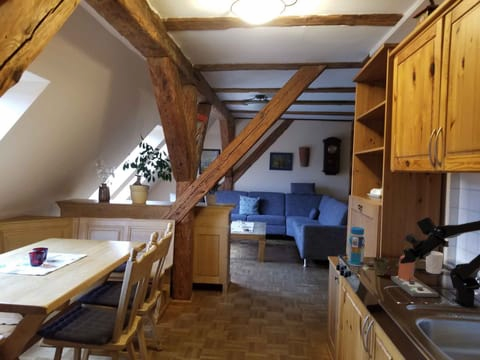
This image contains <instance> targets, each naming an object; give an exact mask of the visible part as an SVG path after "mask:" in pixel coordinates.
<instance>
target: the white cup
mask: <svg viewBox="0 0 480 360" xmlns="http://www.w3.org/2000/svg"><path fill="white" fill-rule="evenodd" d="M444 256H445V255H444V253H442V252H440V251H435V250H434V251H432V252H431V254H430V255H429V256H427V257H425V271H426V272H427V273H430V274H434V275H440V274H441V273H442V268H443V261H444Z"/></svg>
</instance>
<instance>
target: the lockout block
mask: <svg viewBox="0 0 480 360" xmlns="http://www.w3.org/2000/svg"><path fill="white" fill-rule="evenodd" d="M404 256H405V255H404ZM404 256H402V255H401V256H399V261H401V260H402V259H403V258H404ZM399 261H398V263H399V269H398V271H397V273H398V274H397V276H398V278H401V279H404V280H408V281H409V280H412V279H413V277H414V274H415V272H414V266H416V262H414V263H412V262H411V263H404V264H401V263H400V262H399Z"/></svg>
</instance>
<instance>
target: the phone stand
mask: <svg viewBox="0 0 480 360" xmlns="http://www.w3.org/2000/svg"><path fill="white" fill-rule="evenodd" d="M407 248H412V246H410V245H405V246H404V250H405V249H407ZM404 255H405V254H404V252H403V253H402V255H401V256H404ZM399 262H400V260H399V261H398V263H397V267H396V269H397V270H399ZM416 272H417V267H416V265H415V266H414V273H416Z"/></svg>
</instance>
